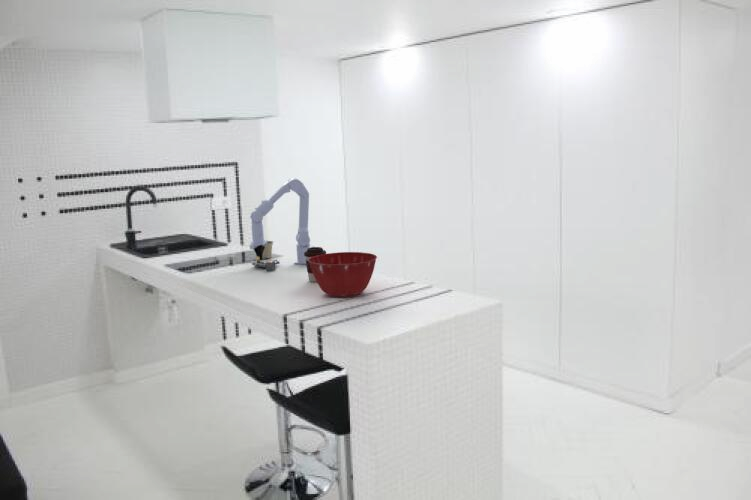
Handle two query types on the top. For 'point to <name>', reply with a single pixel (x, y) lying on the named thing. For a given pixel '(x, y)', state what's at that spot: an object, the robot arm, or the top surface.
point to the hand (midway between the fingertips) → (259, 260)
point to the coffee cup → (310, 253)
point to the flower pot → (267, 250)
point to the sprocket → (263, 262)
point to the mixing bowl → (343, 272)
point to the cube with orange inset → (270, 266)
